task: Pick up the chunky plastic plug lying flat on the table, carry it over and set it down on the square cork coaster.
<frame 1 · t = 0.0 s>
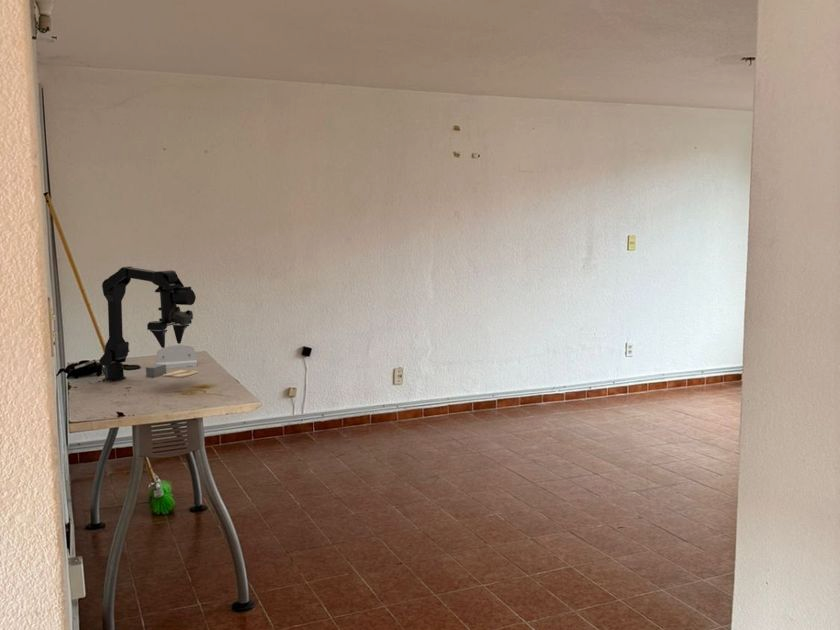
hand: (171, 345, 299), 15 cm above the table, tool pointing down, fingers open, 9 cm apart
coaster: (180, 374, 318), on the table
hinge: (176, 366, 336), on the table
plug: (160, 371, 316), point 2 cm above the table, tilted 90°
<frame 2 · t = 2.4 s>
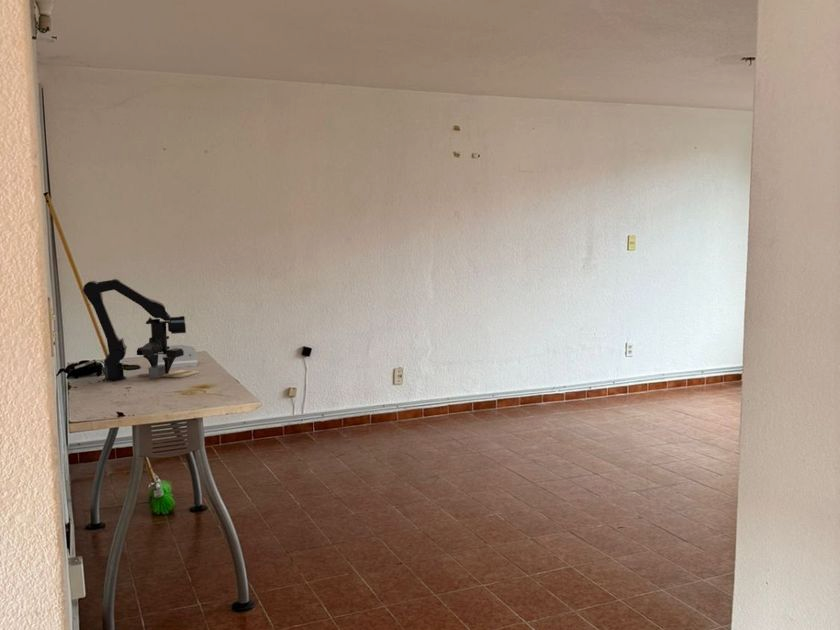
hand: (161, 373, 316), 1 cm above the table, tool pointing down, fingers open, 5 cm apart
plug: (162, 371, 315), point 2 cm above the table, tilted 90°, touching coaster, gripper
everything else where it was.
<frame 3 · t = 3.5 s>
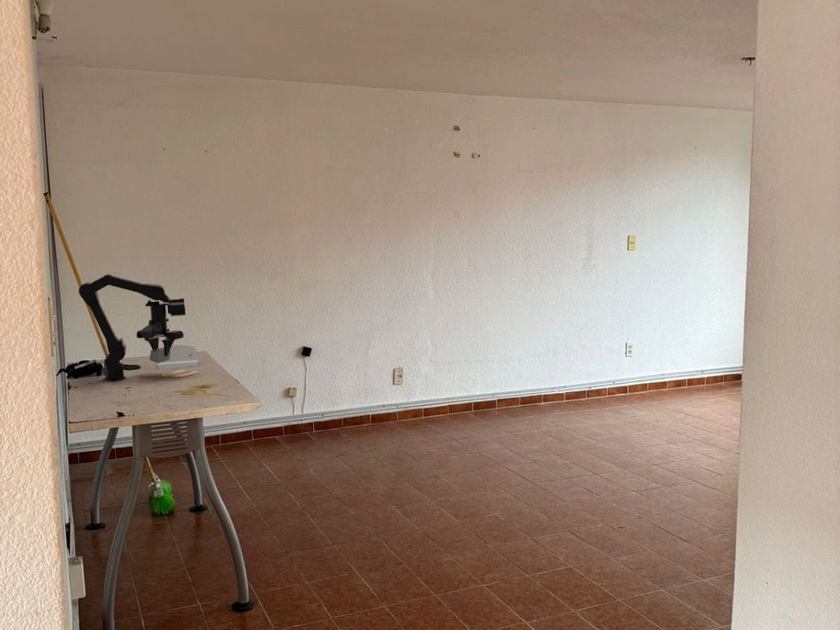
hand: (161, 355, 315), 8 cm above the table, tool pointing down, fingers closed on plug, 4 cm apart
plug: (164, 356, 314), point 8 cm above the table, tilted 76°, touching gripper
everything else where it was.
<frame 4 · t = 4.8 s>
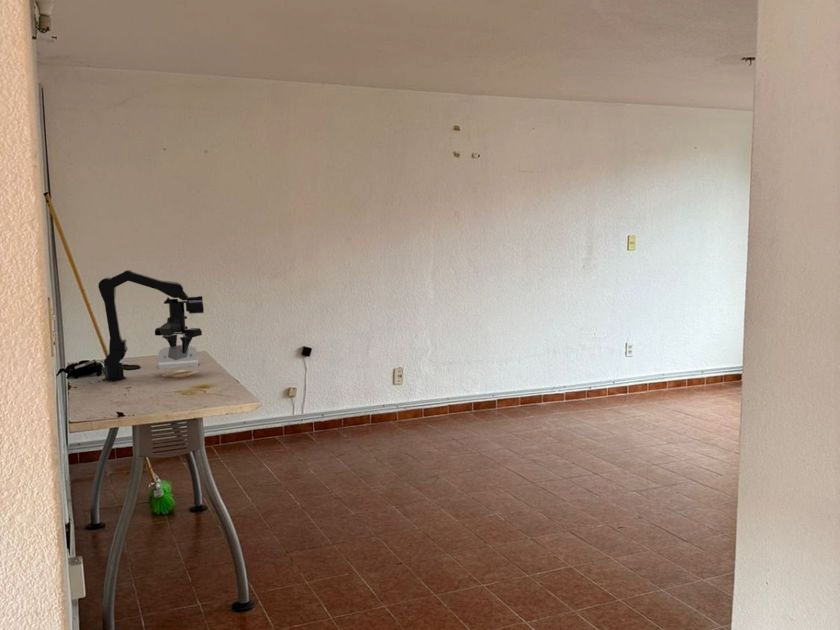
hand: (179, 353, 317), 9 cm above the table, tool pointing down, fingers closed on plug, 4 cm apart
plug: (182, 353, 316), point 9 cm above the table, tilted 76°, touching gripper
everything else where it was.
when the fingers open (3 cm above the table, at t = 6.1 s): plug stays where it is and tips over, resting on coaster.
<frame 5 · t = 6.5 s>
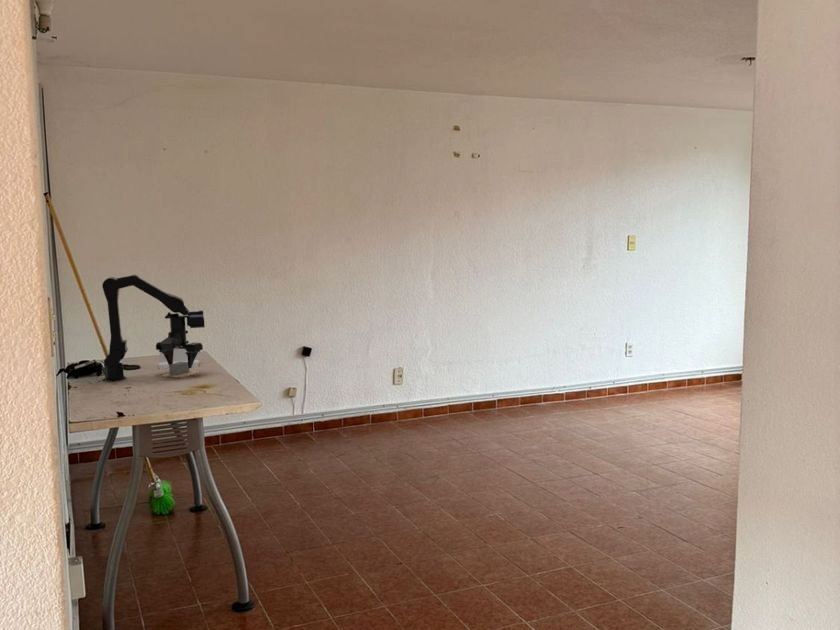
hand: (180, 367, 318), 3 cm above the table, tool pointing down, fingers open, 9 cm apart
plug: (183, 368, 317), point 3 cm above the table, tilted 90°, touching coaster
everything else where it was.
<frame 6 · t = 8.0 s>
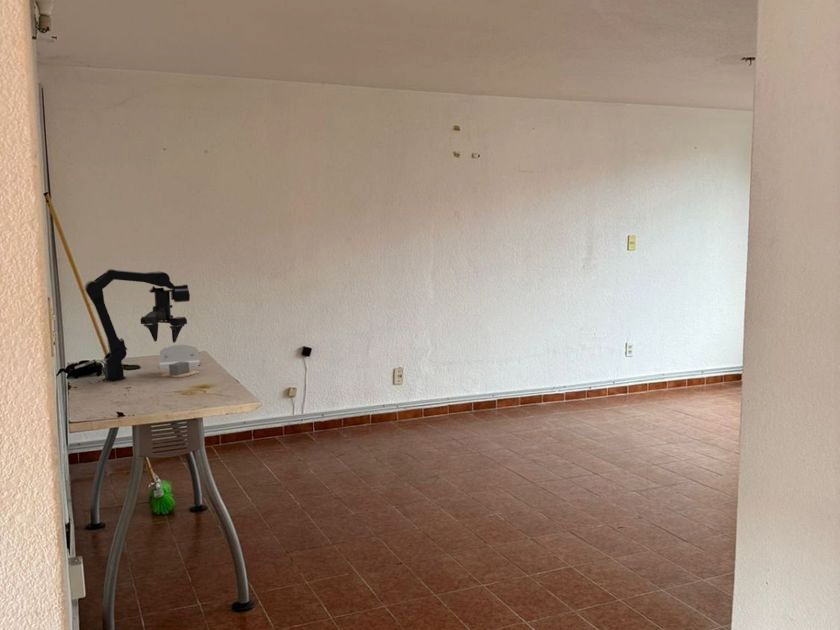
hand: (164, 341, 319), 13 cm above the table, tool pointing down, fingers open, 9 cm apart
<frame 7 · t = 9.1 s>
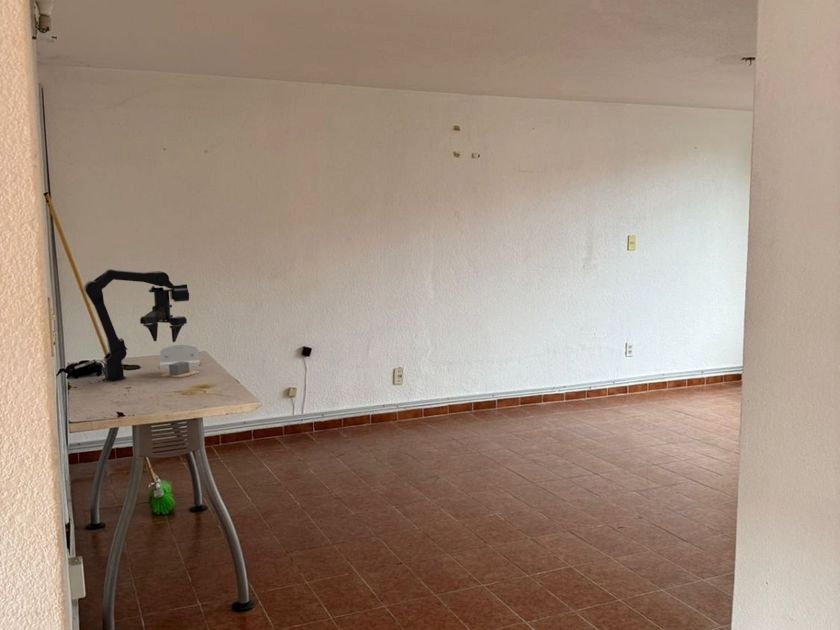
hand: (164, 341, 319), 13 cm above the table, tool pointing down, fingers open, 9 cm apart
at the end: plug inside the target area on the coaster (1.8 cm from its centre), point 2.6 cm above the coaster's base; the gripper is holding nothing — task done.
